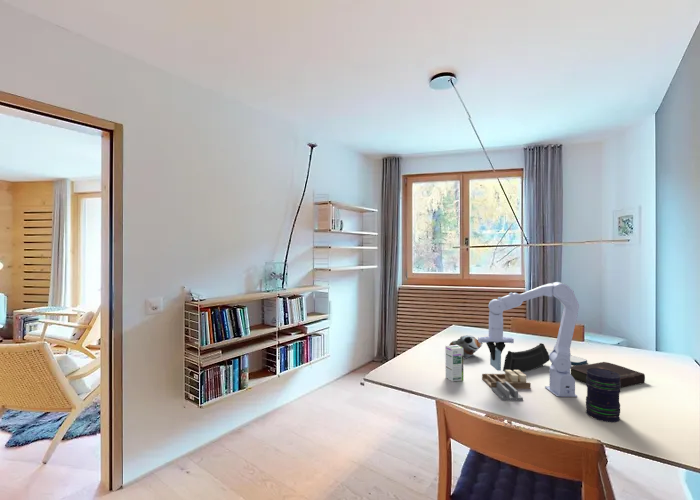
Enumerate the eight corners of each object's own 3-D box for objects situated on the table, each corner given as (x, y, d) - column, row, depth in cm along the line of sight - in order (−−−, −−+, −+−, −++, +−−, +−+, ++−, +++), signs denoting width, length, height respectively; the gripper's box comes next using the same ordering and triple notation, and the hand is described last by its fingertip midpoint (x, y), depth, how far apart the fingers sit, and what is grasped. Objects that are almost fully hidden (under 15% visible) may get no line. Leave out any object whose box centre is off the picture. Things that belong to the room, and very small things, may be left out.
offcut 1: (517, 385, 152) (518, 375, 152) (512, 384, 152) (512, 375, 152) (510, 378, 159) (510, 369, 159) (505, 378, 160) (505, 369, 159)
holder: (523, 400, 139) (523, 391, 139) (501, 400, 139) (502, 391, 139) (511, 390, 149) (511, 381, 149) (491, 389, 149) (491, 381, 149)
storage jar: (594, 421, 123) (594, 377, 123) (580, 408, 133) (580, 367, 132) (626, 423, 121) (627, 378, 121) (610, 410, 131) (611, 369, 131)
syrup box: (452, 382, 157) (452, 348, 157) (444, 377, 163) (445, 344, 163) (463, 380, 159) (464, 347, 159) (456, 376, 165) (456, 344, 165)
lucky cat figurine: (469, 350, 205) (480, 331, 200) (476, 365, 194) (489, 345, 189) (445, 343, 203) (456, 324, 198) (451, 358, 192) (463, 337, 187)
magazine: (505, 356, 165) (544, 330, 178) (499, 354, 167) (538, 329, 181) (512, 391, 167) (550, 362, 181) (506, 388, 170) (544, 361, 184)
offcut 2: (526, 385, 152) (526, 375, 152) (520, 385, 152) (520, 375, 152) (518, 379, 159) (518, 369, 159) (513, 378, 159) (513, 369, 159)
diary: (645, 384, 158) (646, 373, 158) (607, 393, 149) (608, 381, 148) (601, 370, 175) (602, 360, 175) (565, 377, 166) (565, 366, 166)
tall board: (500, 370, 152) (501, 351, 152) (497, 370, 152) (497, 351, 152) (493, 364, 160) (493, 346, 160) (490, 364, 160) (490, 346, 160)
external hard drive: (532, 354, 201) (532, 350, 201) (546, 351, 206) (546, 348, 206) (576, 367, 180) (576, 363, 180) (589, 363, 185) (590, 360, 185)
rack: (530, 388, 150) (530, 383, 150) (491, 388, 151) (491, 382, 151) (518, 379, 161) (518, 373, 161) (482, 378, 162) (482, 373, 162)
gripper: (508, 325, 160) (508, 356, 160) (475, 325, 160) (475, 356, 160) (516, 329, 152) (515, 361, 153) (481, 329, 153) (480, 361, 153)
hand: (495, 359), depth 156 cm, fingers closed on tall board, 1 cm apart
